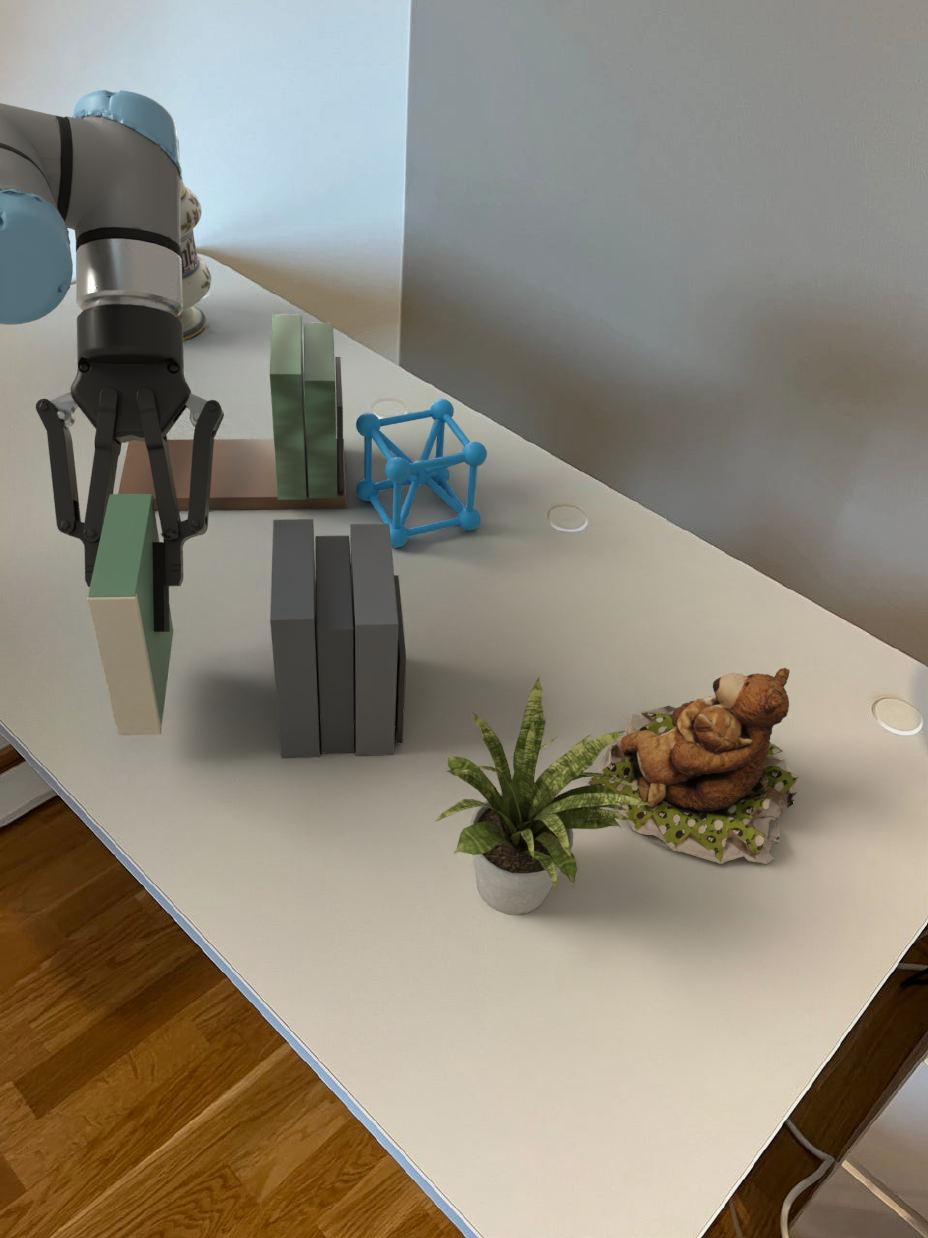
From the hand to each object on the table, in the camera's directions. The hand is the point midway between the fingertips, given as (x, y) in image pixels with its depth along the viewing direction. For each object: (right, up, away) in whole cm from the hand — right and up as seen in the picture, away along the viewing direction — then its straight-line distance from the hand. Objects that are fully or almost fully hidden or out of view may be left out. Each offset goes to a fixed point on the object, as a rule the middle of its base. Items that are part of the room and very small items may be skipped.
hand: (135, 631), depth 79 cm
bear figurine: (+42, -12, +6) cm, 44 cm away
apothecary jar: (-12, +37, +52) cm, 65 cm away
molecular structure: (+19, +11, +28) cm, 36 cm away
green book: (-1, -4, +5) cm, 6 cm away
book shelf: (+1, +15, +30) cm, 34 cm away
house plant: (+27, -19, -3) cm, 33 cm away
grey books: (+14, -6, +9) cm, 18 cm away
